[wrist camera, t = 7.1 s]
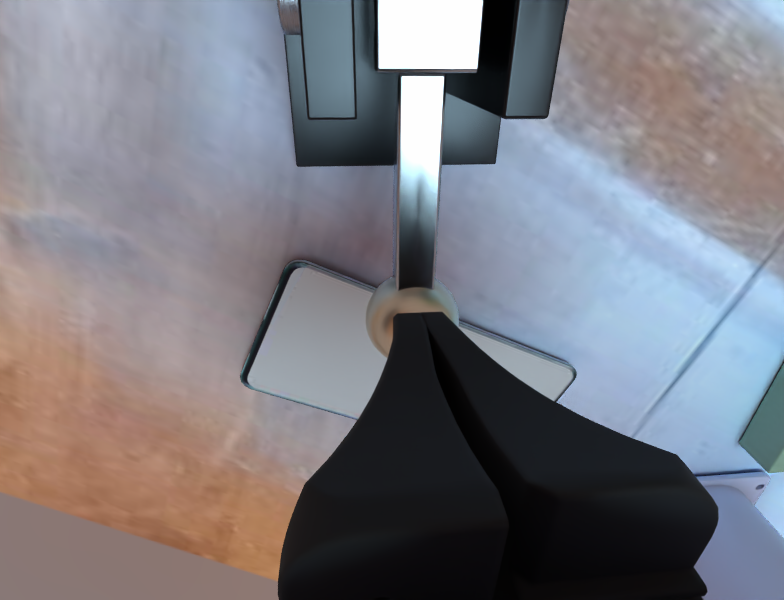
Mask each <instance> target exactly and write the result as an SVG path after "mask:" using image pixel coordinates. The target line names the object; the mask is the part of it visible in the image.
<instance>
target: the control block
mask: <svg viewBox="0 0 784 600" xmlns="http://www.w3.org/2000/svg"><path fill="white" fill-rule="evenodd" d="M739 444H740V445H741V446H742V447H743V448H744V449H745V450H746V451H747V452H748V453H749V454H750V455H751V456H752V457H753V458H754V459H755V460H756V461H757V462H758V463H759V464H760V465H761V466H762V467H763V468H764V469H765V470H766V471H767V472H768V473H776V472H784V364H783V366H782V367H781V369H780V371H779V373H778V374H777V376H776V378H775V380H774V382H773V383H772V385H771V387H770V389H769V390H768V392H767V394H766V396H765V398H764V399H763V401H762V403H761V405H760V407H759V408H758V410H757V412H756V414H755V415H754V417H753V419H752V421H751V423H750V424H749V426H748V428H747V430H746V431H745V433H744V435H743V437H742V439H741V440H740V442H739Z"/></svg>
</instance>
